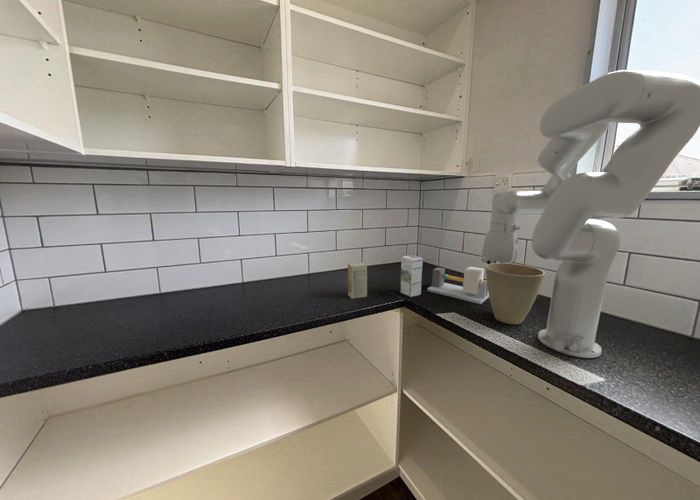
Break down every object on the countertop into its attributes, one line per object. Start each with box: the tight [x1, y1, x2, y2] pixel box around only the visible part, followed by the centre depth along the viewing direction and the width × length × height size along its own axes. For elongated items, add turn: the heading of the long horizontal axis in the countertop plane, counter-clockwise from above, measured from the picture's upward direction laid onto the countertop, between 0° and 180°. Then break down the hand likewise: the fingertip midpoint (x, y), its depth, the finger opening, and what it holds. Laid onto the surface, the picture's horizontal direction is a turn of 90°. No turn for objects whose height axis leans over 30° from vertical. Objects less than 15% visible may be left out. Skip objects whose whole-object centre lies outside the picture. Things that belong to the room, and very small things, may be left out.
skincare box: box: [347, 262, 368, 300], centre depth 101 cm, size 6×4×12 cm
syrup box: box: [399, 254, 424, 298], centre depth 103 cm, size 6×6×14 cm
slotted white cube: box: [462, 266, 485, 295], centre depth 102 cm, size 6×5×8 cm
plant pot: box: [485, 262, 546, 325], centre depth 82 cm, size 15×15×16 cm
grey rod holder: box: [426, 267, 489, 305], centre depth 105 cm, size 12×22×8 cm, turn 48°
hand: (495, 280), depth 97 cm, fingers closed
